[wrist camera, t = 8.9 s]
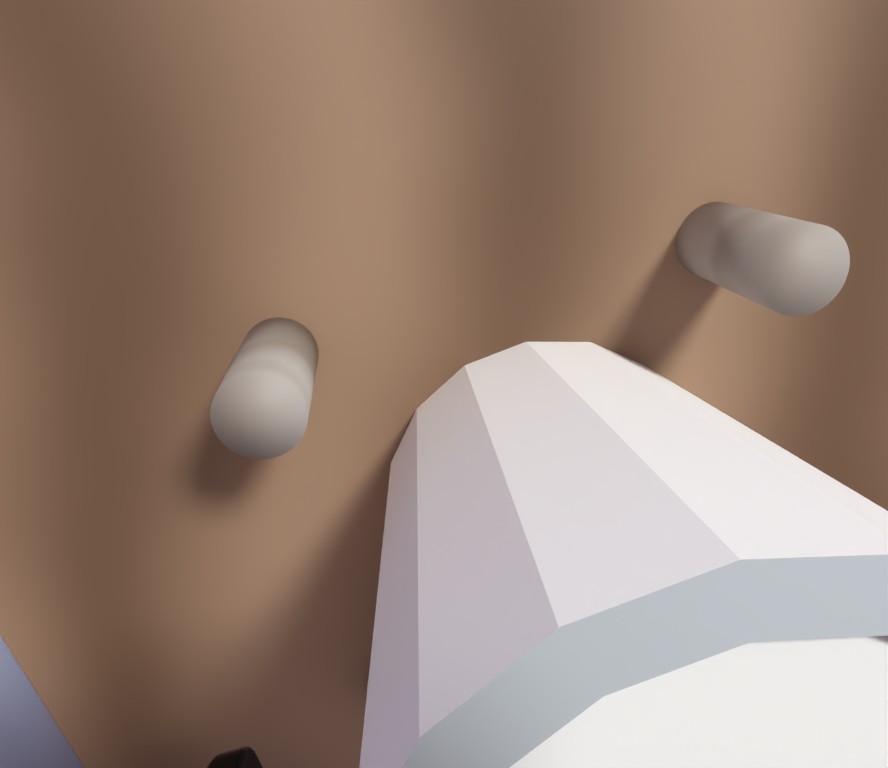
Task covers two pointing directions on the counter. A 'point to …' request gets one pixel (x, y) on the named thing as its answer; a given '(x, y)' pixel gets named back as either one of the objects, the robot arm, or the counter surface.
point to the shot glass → (619, 583)
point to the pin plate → (382, 303)
